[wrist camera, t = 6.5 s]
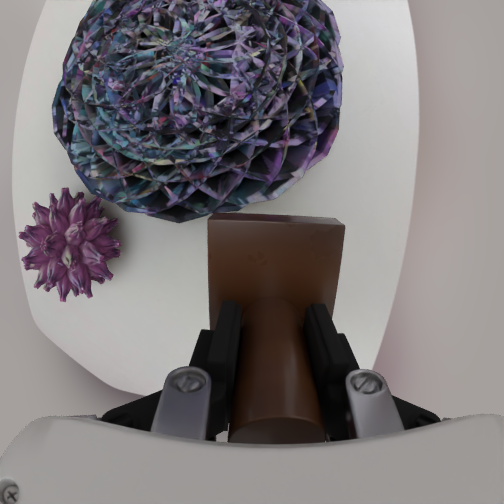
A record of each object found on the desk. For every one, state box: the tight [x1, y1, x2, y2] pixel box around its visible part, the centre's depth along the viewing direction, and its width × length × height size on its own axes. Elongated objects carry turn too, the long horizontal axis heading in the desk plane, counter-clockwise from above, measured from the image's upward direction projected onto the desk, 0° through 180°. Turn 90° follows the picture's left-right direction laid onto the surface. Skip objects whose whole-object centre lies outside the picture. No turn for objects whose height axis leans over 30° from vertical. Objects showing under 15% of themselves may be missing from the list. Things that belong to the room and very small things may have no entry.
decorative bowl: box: [52, 0, 344, 223], centre depth 21 cm, size 26×28×10 cm
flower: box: [19, 187, 121, 302], centre depth 25 cm, size 12×12×12 cm
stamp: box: [208, 213, 345, 444], centre depth 11 cm, size 9×6×10 cm, turn 178°
